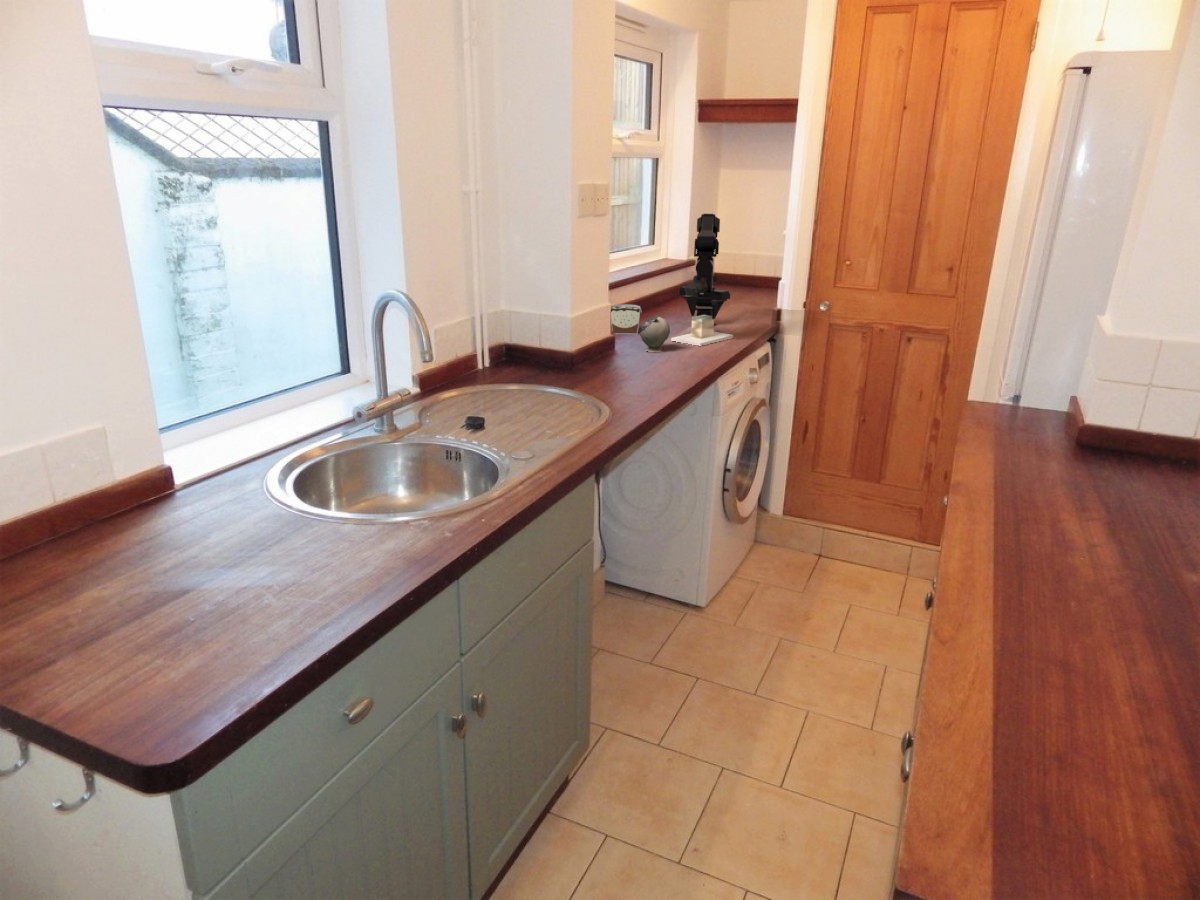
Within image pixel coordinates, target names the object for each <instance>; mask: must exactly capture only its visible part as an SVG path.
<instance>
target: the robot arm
mask: <svg viewBox="0 0 1200 900" xmlns="http://www.w3.org/2000/svg"><path fill="white" fill-rule="evenodd" d="M720 226H721V219H720V218H719V217H717V216H716V214H714V213H702V214H701V216H700V217H698V218H697V219H696V233H697V235H696V238H695V239H694V246H693V247H694V250H693V251H694V252H693V257H694V258H697V259H696V264H695V271H696V275H694V276H693V280H692V281H691V282H689V283H688V284H687V285H684V286H680V287H679V288H678V296H680V297H681V299H684V300H685V302H686V303H687V307H688V309H689V312H690V316H691V317H696V316H701V315H709V316H712V319H714V320H716V317H717V316H718V314H719V311H720V309H721V308H722V306H723V304H724V303H725V302H727V301H728V300H730V299H731V292H730V291H729V290H726V289H716V287H715V286H714V284H713V283H714V280H715V279H716V275H715V274H714V260H715V259H714V258H717V255H719V249H720V247H719V246H720V242H719V239H717V238H718V234H719V233H720V228H721V227H720ZM715 289H716V290H715ZM695 312H696V313H695ZM695 314H696V316H695ZM714 326H717V324H716V323H714Z"/></svg>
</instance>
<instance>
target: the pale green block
mask: <svg viewBox="0 0 1200 900" xmlns="http://www.w3.org/2000/svg"><path fill="white" fill-rule="evenodd" d="M714 324H715V319H712V316H709V315H701V316H691V331H690V333H691V337H694V338H699V339H703V338H707V337H711V336H713V332H715V330H714V329H715V327H714Z"/></svg>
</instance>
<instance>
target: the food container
mask: <svg viewBox="0 0 1200 900" xmlns="http://www.w3.org/2000/svg"><path fill="white" fill-rule="evenodd" d="M611 307H612V309H611V316H610V323H611V332H612V331H613V333H615V334H614V335H639V333H638V332H639V326H640V325H639V324H640V316H641V314H642V313H643V312H642V308H641V306H640V305H637V304H613V305H611Z"/></svg>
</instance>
